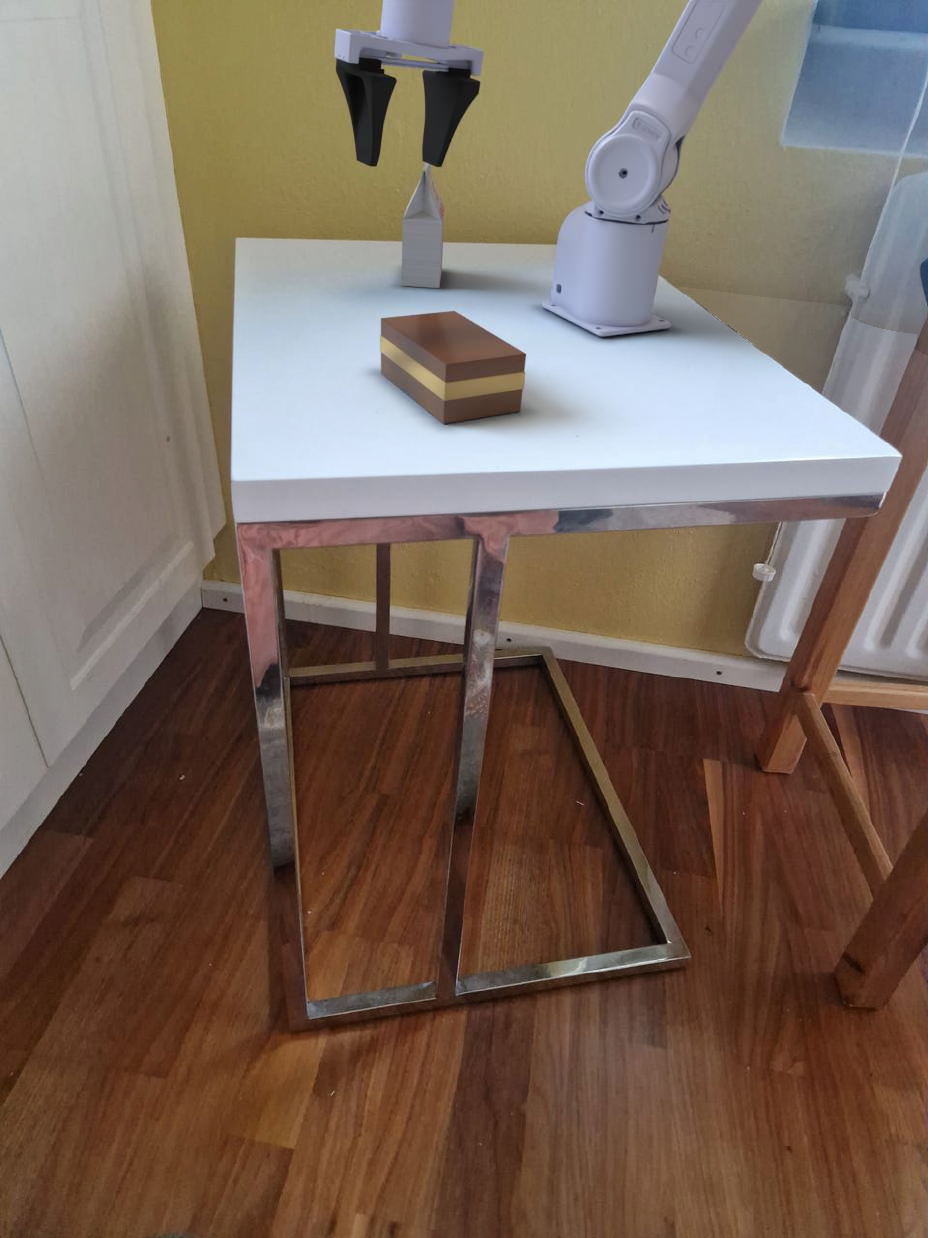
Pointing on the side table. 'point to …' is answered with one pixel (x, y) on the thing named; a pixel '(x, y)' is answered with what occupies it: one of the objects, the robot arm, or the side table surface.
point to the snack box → (452, 366)
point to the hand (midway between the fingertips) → (400, 163)
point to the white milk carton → (423, 235)
